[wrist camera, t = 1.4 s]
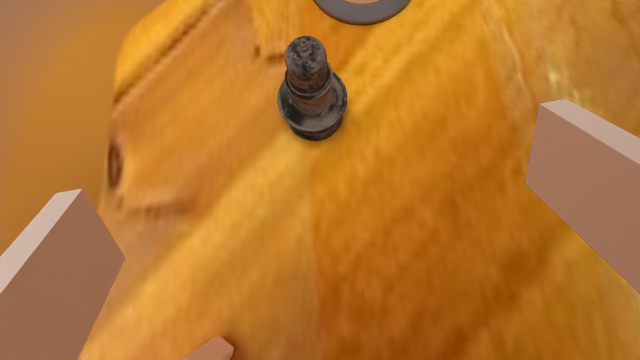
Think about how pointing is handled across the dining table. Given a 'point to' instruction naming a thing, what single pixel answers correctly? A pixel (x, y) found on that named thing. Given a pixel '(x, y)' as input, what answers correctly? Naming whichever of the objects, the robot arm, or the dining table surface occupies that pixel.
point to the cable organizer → (212, 350)
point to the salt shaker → (311, 91)
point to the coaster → (361, 10)
